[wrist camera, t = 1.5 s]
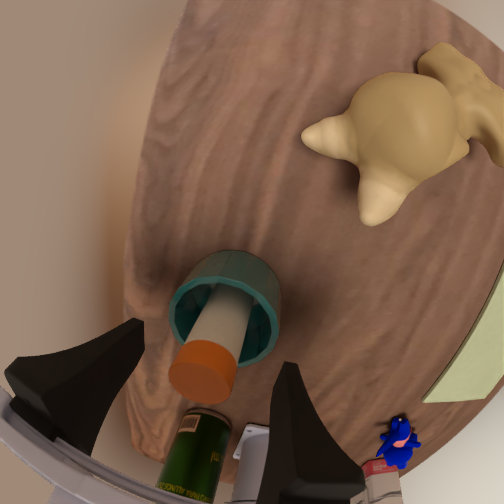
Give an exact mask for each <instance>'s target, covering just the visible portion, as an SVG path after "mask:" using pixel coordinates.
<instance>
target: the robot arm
mask: <svg viewBox="0 0 504 504" xmlns="http://www.w3.org/2000/svg"><path fill="white" fill-rule="evenodd" d="M144 350H145V345H144V321H141V320H139V319H136V318H132V319H130V320H128V321H126V322H125V323H123V324H121V325H119V326H118V327H116V328H114V329H112V330H111V331H109V332H107V333H105V334H103V335H101V336H99V337H97V338H95V339H93V340H91V341H89V342H86V343H84V344H82V345H79V346H77V347H73V348H71V349H67V350H63V351H60V352H56V353H52V354H46V355H40V356H28V357H17V358H16V359H15V360H14V362H12V363H11V364H10V365H9V366H8V367H7V369H5V371H4V374H5V377H6V379H7V381H8V383H9V385H10V386H11V388H12V390H13V391H14V393H15V395H16V396H15V397H14V398H12V397H11V395H10V394H9V393H8V392H7V391H5V390H4V389H3V388H2V387H1V386H0V440H1V442H3V443H4V444H5V445H6V446H7V447H8V448H9V449H10V450H11V451H12V452H13V453H14V454H15V455H16V456H17V457H19V458H20V459H21V460H22V461H23V462H24V463H25V464H27V465H28V466H29V467H30V468H32V469H33V470H34V471H35V472H36V473H38V474H39V475H40V476H42V477H43V478H44V479H46V480H47V481H48V482H50V483H51V484H53V485H54V486H55V489H54V491H53V492H52V494H51V496H50V498H49V500H48V501H47V503H46V504H152V503H149V502H146V501H144V500H142V499H139V498H137V497H134V496H132V495H130V494H127V493H125V492H123V491H121V490H119V489H117V488H114V487H112V486H110V485H108V484H106V483H104V482H103V481H101V480H99V479H97V478H95V477H94V476H93V475H92V474H94V475H96V476H97V477H99V478H101V479H103V480H105V481H107V482H109V483H111V484H113V485H115V486H117V487H119V488H121V489H124V490H126V491H128V492H130V493H133V494H135V495H137V496H140V497H142V498H145V499H147V500H150V501H153V502H155V503H158V504H209V503H205V502H201V501H197V500H194V499H190V498H187V497H183V496H180V495H177V494H174V493H170V492H168V491H165V490H162V489H159V488H156V487H153V486H151V485H148V484H146V483H143V482H141V481H138V480H136V479H134V478H131V477H129V476H127V475H124V474H122V473H120V472H118V471H116V470H114V469H112V468H110V467H108V466H106V465H104V464H102V463H100V462H98V461H97V460H95V459H93V458H91V453H92V450H93V447H94V444H95V441H96V438H97V435H98V433H99V431H100V428H101V426H102V423H103V421H104V419H105V417H106V415H107V412H108V410H109V408H110V406H111V404H112V402H113V400H114V399H115V397H116V395H117V394H118V392H119V391H120V389H121V388H122V386H123V385H124V384H125V382H126V381H127V379H128V378H129V376H130V375H131V373H132V372H133V370H134V369H135V367H136V366H137V364H138V362H139V360H140V358H141V356H142V354H143V352H144ZM233 458H235V459H240V460H239V465H238V469H237V474H236V479H235V484H234V488H233V493H232V498H231V502H225V504H350V499H351V498H353V497H354V496H356V495H358V494H360V493H361V492H362V491H364V490H365V488H366V483H365V476H364V472H363V469H362V468H361V467H359V466H358V465H357V464H356V463H355V462H354V461H353V460H352V459H350V458H349V457H348V456H347V454H346V453H345V452H344V451H343V450H342V449H341V448H340V447H339V445H338V444H337V443H336V442H335V440H334V439H333V438H332V437H331V435H330V434H329V432H328V431H327V429H326V428H325V426H324V425H323V423H322V421H321V420H320V418H319V416H318V414H317V412H316V410H315V408H314V406H313V404H312V402H311V400H310V398H309V395H308V393H307V391H306V388H305V385H304V383H303V380H302V377H301V374H300V371H299V367H298V365H297V364H296V363H291V362H286V361H284V364H283V366H282V369H281V371H280V373H279V376H278V378H277V380H276V382H275V385H274V387H273V393H272V398H271V405H270V424H269V427H264V426H259V425H254V424H247V425H246V427H245V429H244V432H243V434H242V436H241V438H240V441H239V443H238V445H237V447H236V450H235V452H234V454H233ZM86 470H87V471H86ZM89 472H90V473H89ZM91 473H92V474H91Z"/></svg>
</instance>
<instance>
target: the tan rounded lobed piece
mask: <svg viewBox="0 0 504 504" xmlns="http://www.w3.org/2000/svg"><path fill="white" fill-rule="evenodd" d="M417 67H418V73H419V74H412V73H398V72H388V73H384V74H382V75H379V76H377V77H374V78H372V79H371V80H369V81H367V82H366V83H364V84H363V85H362V86H361V87H360V88H359V89H358V90H357V91H356V93H355V94H354V96H353V98H352V100H351V103H350V106H349V108H348V109H347V110H346V111H345V112H344V113H343V114H342V115H338V116H333V117H327V118H324V119H322V120H321V121H319V122H318V123H315V124H313V125H311V126H310V127H308V128H306V129H305V130H304V131H303V132H302V134H301V139H302V141H303V143H304V144H305V145H306V146H308V147H309V148H311V149H312V150H314V151H316V152H318V153H320V154H322V155H324V156H327V157H331V158H336V159H343V160H347V161H349V162H351V163H353V164H354V165H356V166H357V167H358V168H359V172H360V182H359V187H358V213H359V218H360V220H361V222H362V223H364V224H365V225H368V226H375V225H378V224H381V223H382V222H384V221H386V220H387V219H389V218H390V217H391V216H393V215H394V214H395V213H396V212H397V211H398V209H399V207H400V206H401V204H402V203H403V201H404V200H405V198H406V196H407V195H408V193H409V192H410V191H412V190H414V189H415V188H416V187H417V186H418V184H419V183H421V182H422V181H424V180H426V179H428V178H430V177H432V176H434V175H436V174H438V173H439V172H441V171H443V170H444V169H446V168H448V167H449V166H451V165H452V164H454V163H455V162H457V161H458V160H460V159H461V158H462V157H464V156H465V155H466V154H468V152H469V145H468V143H467V140H468V139H469V138H470V137H471V138H474V139H475V140H477V141H478V142H480V143H481V144H482V145H483V146H484V147H485V148H486V149H487V151H488V153H489V156H490V158H491V160H492V161H493V162H494V163H495V164H496V165H497V166H500V167H503V168H504V90H503V89H502V88H500V87H499V86H497V85H496V84H494V83H493V82H491V81H490V80H489V79H488V78H487V77H486V76H485V74H484V73H483V71H482V70H481V68H480V67H479V66H478V65H477V64H476V63H475V62H474V61H472V60H470V59H469V58H467V57H465V56H463V55H462V54H460V53H459V52H458V51H457V50H456V49H455V48H454V47H453V46H451V45H449V44H447V43H442V42H439V43H437V44H435V45H434V46H433V48H432V49H430V50H429V51H428V52H426V53H425V54H423V55H422V56H421V57H420V58H419V60H418V64H417Z"/></svg>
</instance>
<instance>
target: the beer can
mask: <svg viewBox="0 0 504 504" xmlns="http://www.w3.org/2000/svg"><path fill="white" fill-rule="evenodd" d="M230 433H231V428H230V425H229V422H228V420H227V419H226V418H225V417H223V416H222V415H220V414H218V413H216V412H213V411H210V410H206V409H192V410H191V411H189V412H187V413H186V414H185V415H184V416H183V418H182V420H181V423H180V425H179V428H178V430H177V433H176V435H175V438H174V440H173V443H172V445H171V448H170V450H169V453H168V455H167V458H166V461H165V463H164V466H163V468H162V471H161V473H160V476H159V478H158V481H157V483H156V486H155V487H156V488H159V489H162V490H165V491H168V492H170V493H174V494H177V495H180V496H183V497H187V498H190V499H194V500H197V501H201V502H205V503H209V504H213V502H214V498H215V494H216V490H217V486H218V482H219V478H220V474H221V470H222V466H223V462H224V458H225V454H226V450H227V446H228V442H229V437H230ZM152 504H158V503H155V502H152Z"/></svg>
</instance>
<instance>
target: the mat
mask: <svg viewBox="0 0 504 504" xmlns="http://www.w3.org/2000/svg"><path fill="white" fill-rule="evenodd" d="M503 375H504V263H503V265H502V268H501V270H500V272H499V275H498V277H497V279H496V282H495V284H494V286H493V288H492V290H491V293H490V295H489V297H488V299H487V301H486V303H485V305H484V307H483V309H482V311H481V312H480V314H479V316H478V318H477V320H476V322H475V323H474V325H473V327H472V329H471V330H470V332H469V334H468V335H467V337H466V339H465V340H464V342H463V343H462V345H461V347H460V348H459V350H458V351H457V353H456V354H455V356H454V357H453V359H452V360H451V362H450V363H449V364H448V366H447V367H446V369H445V370H444V371H443V373H442V374H441V375H440V377H439V378H438V379H437V381H436V382H435V383H434V385H433V386H432V387H431V388H430V390H429V391H428V392H427V393H426V395H425V396H424V397H423V398H422V402H451V401H465V400H475V399H484V398H485V397H486V396H487V395H488V394H489V393H490V391H491V390H492V389H493V388H494V386H495V385H496V384H497V382H498V381H499V380H500V379H501V377H502V376H503Z"/></svg>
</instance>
